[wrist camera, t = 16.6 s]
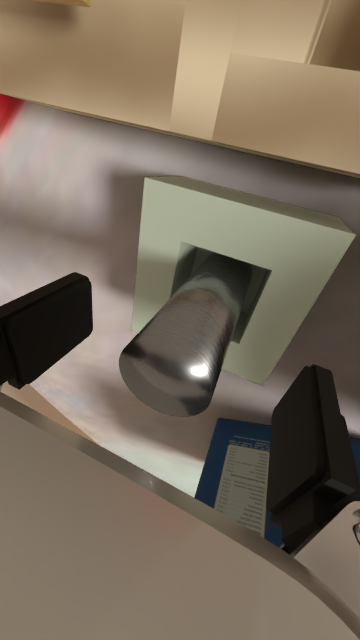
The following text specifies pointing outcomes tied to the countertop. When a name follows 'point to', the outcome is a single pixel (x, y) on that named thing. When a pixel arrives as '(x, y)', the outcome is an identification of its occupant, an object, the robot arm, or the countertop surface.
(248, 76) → the socket block
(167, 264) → the pale green square block
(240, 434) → the protein box
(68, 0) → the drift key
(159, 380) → the silver cylinder
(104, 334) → the countertop surface
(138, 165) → the countertop surface
